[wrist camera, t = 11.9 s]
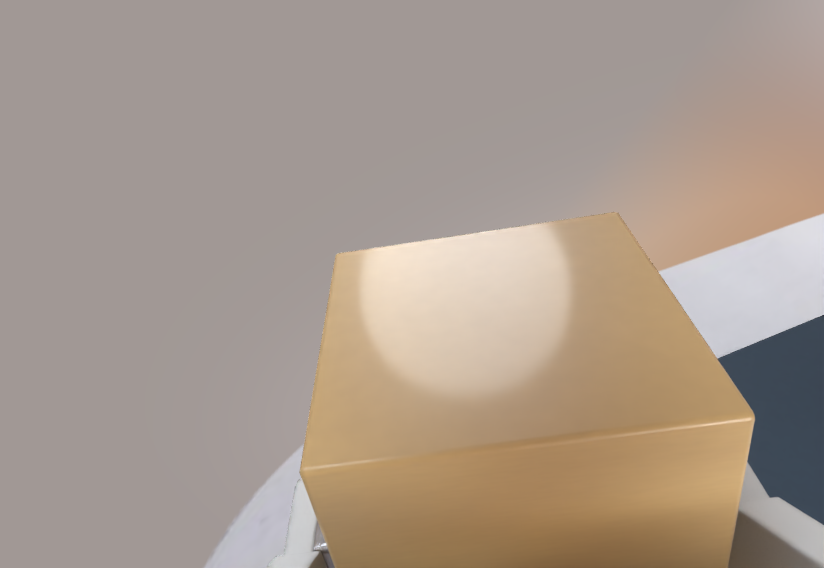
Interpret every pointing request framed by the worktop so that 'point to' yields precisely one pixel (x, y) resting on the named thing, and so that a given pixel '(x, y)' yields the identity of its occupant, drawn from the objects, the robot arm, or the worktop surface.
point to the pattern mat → (786, 412)
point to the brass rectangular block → (520, 408)
